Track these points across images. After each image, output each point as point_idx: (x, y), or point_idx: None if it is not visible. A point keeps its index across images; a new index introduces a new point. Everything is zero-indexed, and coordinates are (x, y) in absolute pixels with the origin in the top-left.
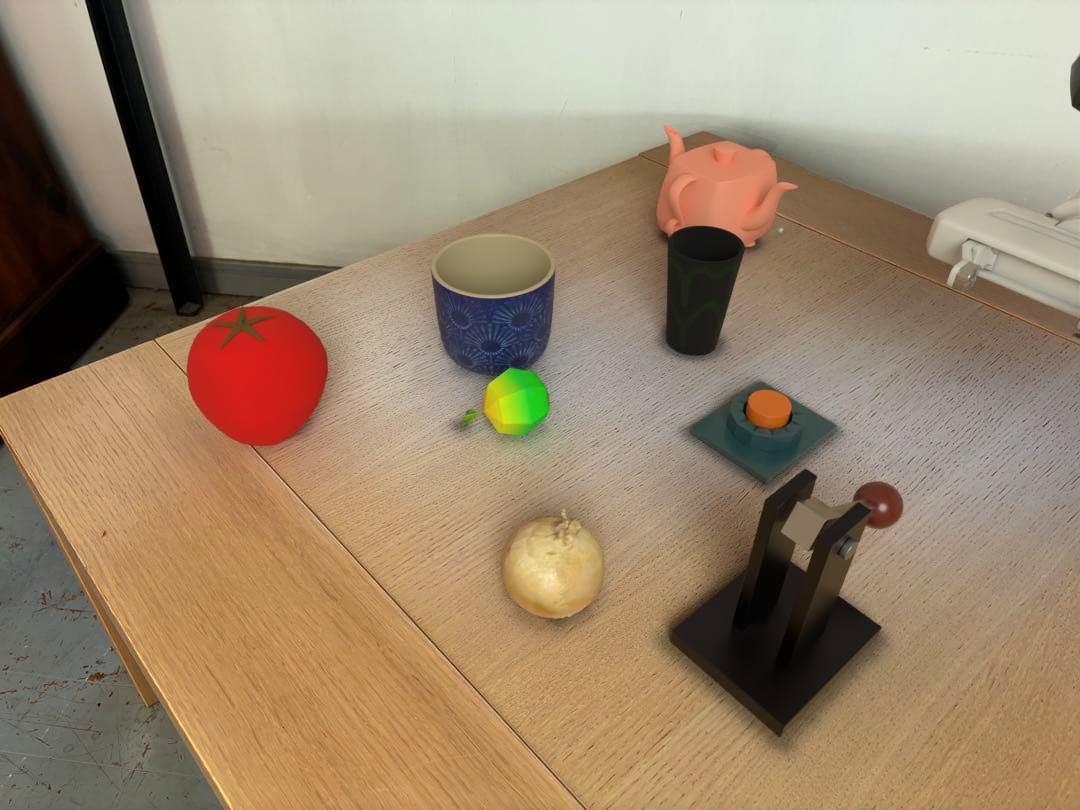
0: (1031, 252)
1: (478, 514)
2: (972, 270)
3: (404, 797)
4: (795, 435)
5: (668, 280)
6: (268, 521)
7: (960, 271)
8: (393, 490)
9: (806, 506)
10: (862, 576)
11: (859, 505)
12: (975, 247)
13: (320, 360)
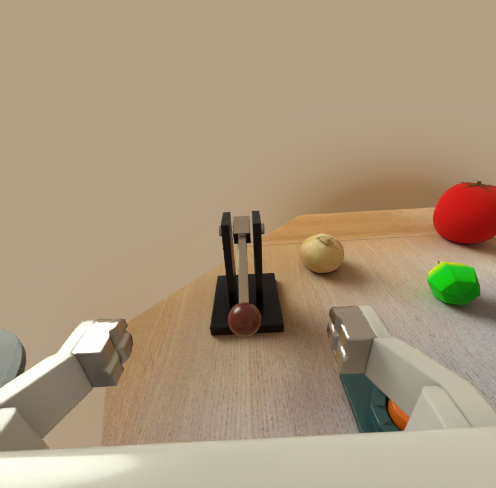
0: (310, 444)
1: (374, 265)
2: (341, 314)
3: (277, 228)
4: (372, 414)
5: None
6: (393, 230)
7: (352, 306)
8: (400, 252)
9: (244, 217)
10: (239, 362)
11: (226, 224)
12: (446, 399)
13: (471, 215)
